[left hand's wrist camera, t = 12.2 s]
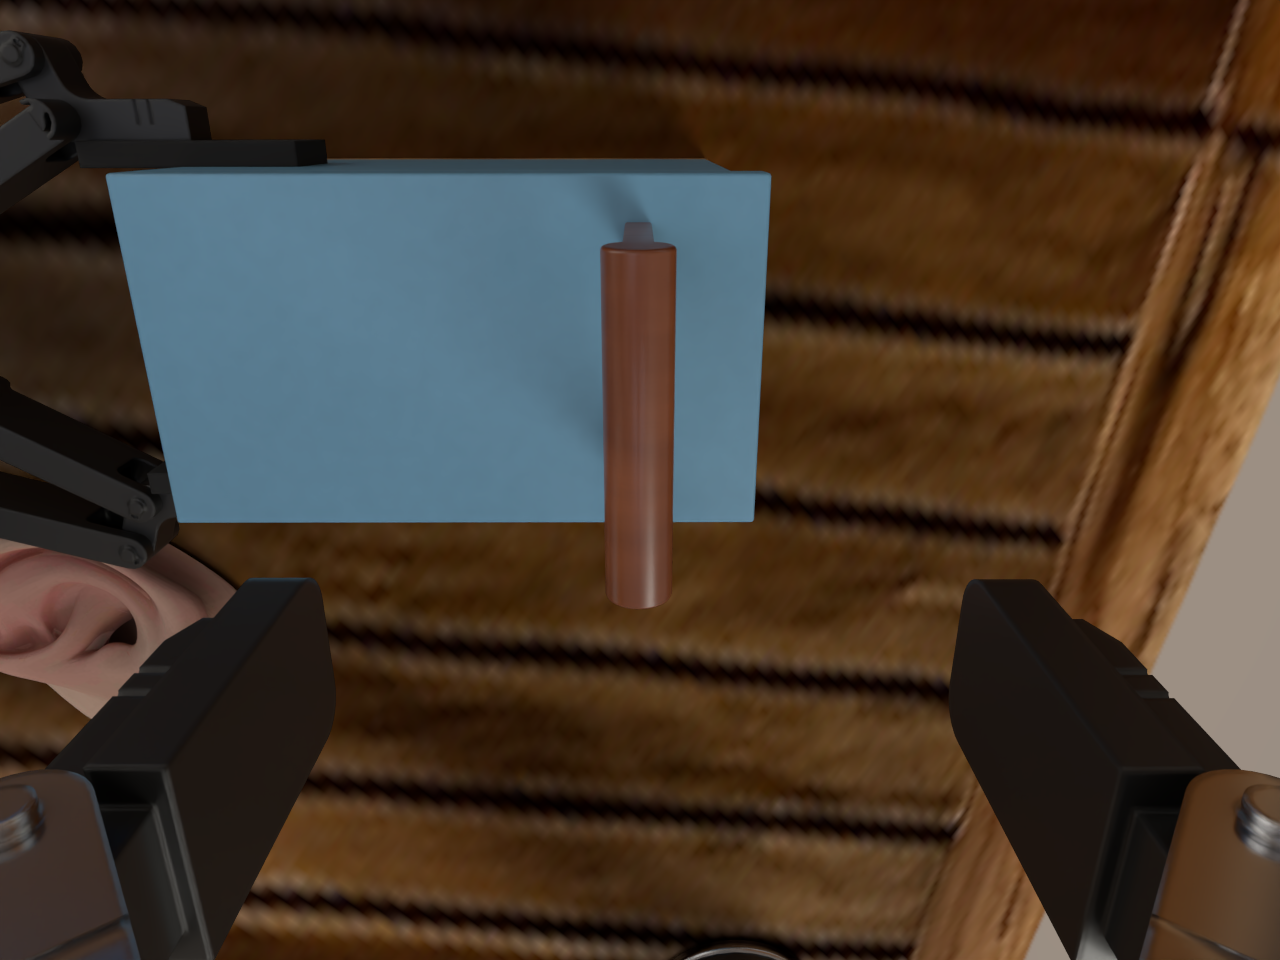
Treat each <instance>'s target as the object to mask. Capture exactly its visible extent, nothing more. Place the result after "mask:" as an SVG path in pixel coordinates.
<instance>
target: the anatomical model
mask: <svg viewBox="0 0 1280 960" xmlns="http://www.w3.org/2000/svg"><path fill="white" fill-rule="evenodd" d="M236 591H237V590H235V589H234V588H233V587H232V586H231V585H230V584H229V583H227V582H226V581H225V580H224V579H222V578H221V577H220V576H219V575H217V574H216V573H214V572H213V571H212V570H210V569H209V568H207V567H206V566H204V565H203V564H201V563H200V562H198V561H196V560H195V559H193V558H192V557H190V556H188V555H187V554H185V553H184V552H182V551H181V550H179V549H177V548H175V547H174V546H172V545H170V544H167V545H166V546H165V547H164V548H162V549H161V550H160V551H159V552H158V553H157V554H156V555H154V556H153V557H152V558H151V559H150V560H148V561H147V562H146V563H145V564H144V565H143V566H142V567H140V568H137V569H128V568H124V567H119V566H115V565H111V564H107V563H103V562H98V561H94V560H90V559H86V558H81V557H77V556H73V555H69V554H65V553H60V552H56V551H52V550H48V549H43V548H39V547H35V546H31V545H27V544H22V543H18V542H14V541H10V540H5V539H1V538H0V672H3V673H6V674H9V675H12V676H17V677H21V678H25V679H30V680H34V681H39V682H43V683H47V684H48V685H49V686H50V687H51V688H53V689H54V690H55V691H56V692H57V693H58V694H59V695H61V696H62V697H63V698H64V699H65V700H67V701H68V702H69V703H70V704H72V705H73V706H74V707H75V708H77V709H78V710H79V711H81V712H82V713H83V714H85V715H86V716H88V717H89V718H91V719H92V718H93V717H94V716H95V715H96V714H97V713H98V711H99V710H100V709H101V708H102V707H103V706H104V705H105V704H106V703H107V702H108V701H109V700H110V699H111V697H112V696H118V690H119V689H120V688H121V687H122V686H123V685H124V683H125V682H126V681H127V680H128V679H129V678H130V677H131V676H132V675H133V674H134V673H139V667H140V666H141V665H142V664H143V663H144V662H145V661H146V660H147V659H148V658H149V657H150V655H151V654H152V653H153V652H154V651H155V650H156V649H157V648H158V647H159V646H160V645H161V644H162V642H163V641H164V640H166V639H168V638H169V637H171V636H173V635H175V634H176V633H178V632H180V631H181V630H183V629H185V628H186V627H188V626H190V625H191V624H193V623H195V622H196V621H198V620H200V619H201V618H214V617H215V615H216V614H217V613H218V612H219V611H220V610H221V609H222V607H223V606H224V605H225V604H226V603H227V602H228V601H229V599H230V598H231V597H232V596H233V595H234V594H235V592H236Z"/></svg>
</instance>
